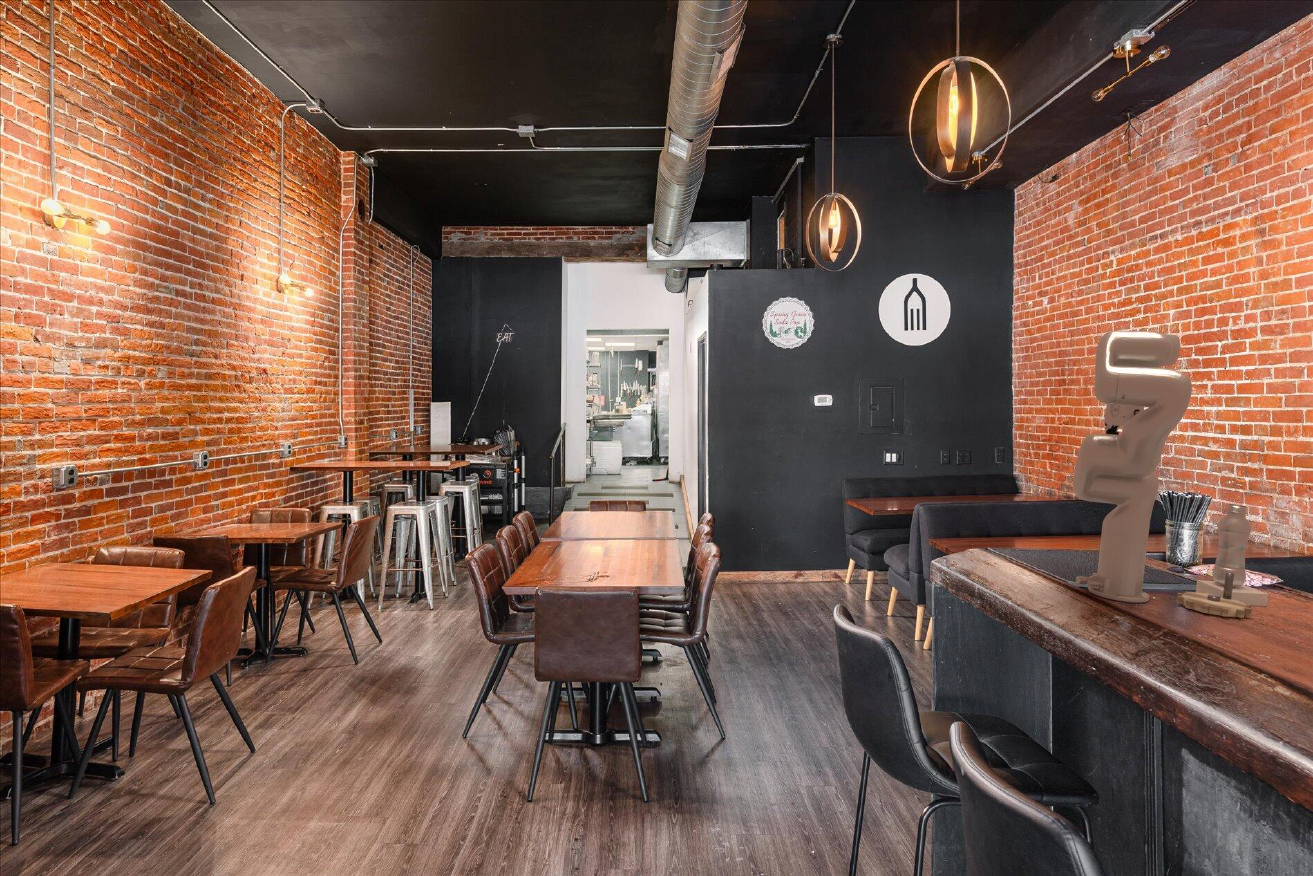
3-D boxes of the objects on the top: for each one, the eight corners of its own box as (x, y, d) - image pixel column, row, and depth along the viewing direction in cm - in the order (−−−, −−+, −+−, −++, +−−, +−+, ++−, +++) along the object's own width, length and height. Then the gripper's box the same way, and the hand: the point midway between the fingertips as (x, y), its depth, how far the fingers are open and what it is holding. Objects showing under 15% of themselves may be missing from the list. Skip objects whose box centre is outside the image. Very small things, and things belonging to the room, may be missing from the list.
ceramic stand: (1224, 604, 180) (1226, 591, 180) (1195, 591, 190) (1197, 580, 190) (1267, 606, 180) (1268, 594, 180) (1236, 594, 190) (1237, 582, 190)
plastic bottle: (1250, 590, 182) (1260, 508, 180) (1219, 587, 183) (1228, 506, 182) (1235, 583, 188) (1245, 504, 187) (1205, 580, 190) (1214, 502, 188)
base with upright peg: (1249, 622, 164) (1254, 587, 164) (1171, 607, 174) (1175, 573, 173) (1253, 609, 175) (1257, 576, 174) (1179, 595, 184) (1183, 563, 184)
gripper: (1096, 382, 209) (1089, 444, 210) (1133, 383, 191) (1126, 450, 193) (1123, 383, 208) (1116, 445, 210) (1163, 384, 191) (1156, 452, 193)
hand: (1121, 447), depth 201 cm, fingers open, 9 cm apart
